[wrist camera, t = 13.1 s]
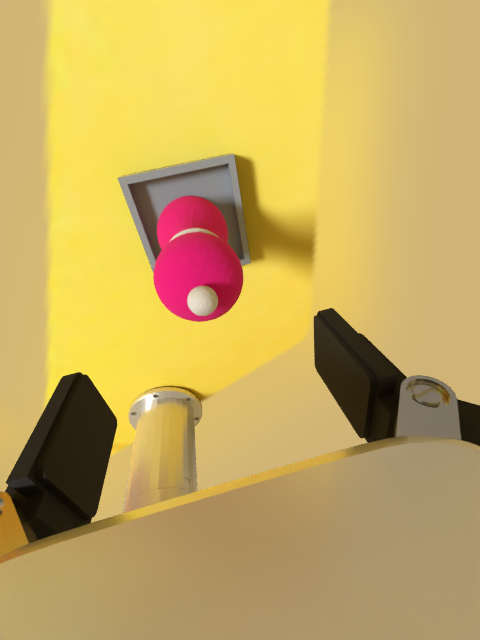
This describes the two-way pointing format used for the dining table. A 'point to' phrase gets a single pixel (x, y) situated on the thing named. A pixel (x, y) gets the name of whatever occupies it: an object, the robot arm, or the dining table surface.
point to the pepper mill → (196, 261)
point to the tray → (183, 180)
